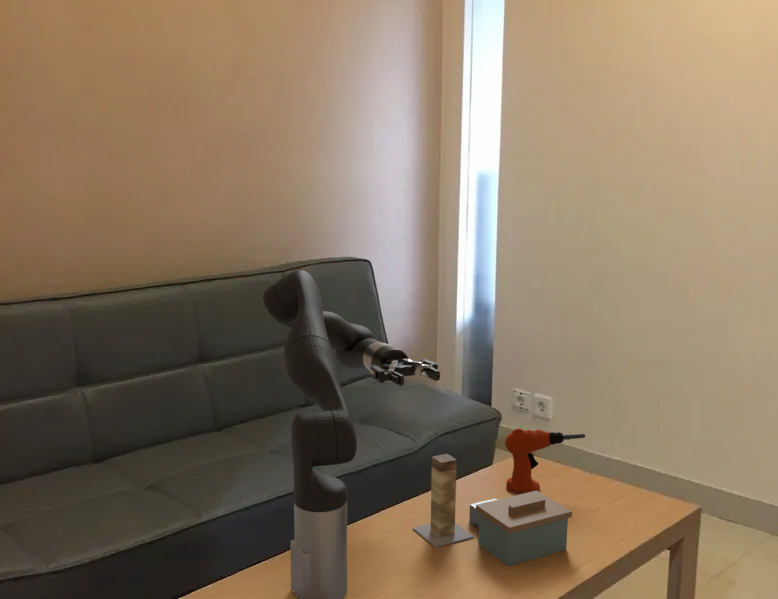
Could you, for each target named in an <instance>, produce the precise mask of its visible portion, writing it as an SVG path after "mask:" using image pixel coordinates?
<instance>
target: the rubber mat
mask: <svg viewBox="0 0 778 599" xmlns="http://www.w3.org/2000/svg"><path fill="white" fill-rule="evenodd" d="M413 529H414V530H413ZM412 530H413V531H415V533H417V534H418V535H419V534H420V535H419V536H420V537H422V538H423V539H424V540H425V541H426V542H428V543H429V544H430V543H431V544H432V545H431V544H430V545H431V546H433V547H434V548H435V549H436V547H437V548H441V547H444V546H447V545H452V544H456V543H459V541H460V542H463V540H464V541H467V540H471V539H474V536H473V534H471V533H470V532H468V531H467V530H465V529H464V528H463V527H462V526H460V525H458V523H456V522H455V534H453V535H448V536H444V537H440V538H439V537H438V536H437V535H436V534H434V533H433V532H432V531H431V522H430V523H426V524H423V525H419V526H414V527H412ZM455 542H456V543H455ZM451 543H452V544H451ZM443 545H444V546H443ZM440 546H441V547H440Z"/></svg>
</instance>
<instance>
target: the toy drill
mask: <svg viewBox="0 0 778 599" xmlns="http://www.w3.org/2000/svg"><path fill="white" fill-rule="evenodd" d="M585 437H586V435H585V433H578V434H563V433H562V432H553V431H552V432H550V431H545V430H541V429H536V430H531V429H527V430H526V429H525V430H524V429H522V428H515V429H513V430H512V432H510V433H509V434H507V435H506V436H505V439H504V445H505V448H506V449H507V451H509V453H510V454H512V459H513V469H512V473H511V477H509V478H507V481H506V490H508V491H509V492H512V493H521V494H524V493H528V492H533V491H538V492H540V489H541V484H540V483H539V482H538V481H536V480H534V479H532V470H533V469H535V468H536V467H537V466H538V465H539V462H538V461H537V460H536V459H535V455H534V454H533V453H534V452H537V451H538V450H539V451H540V450H543V449H545V448H548V447H551V446H553V445H557V444H562V443H563V442H564V441H565V440H572V439H573V440H575V439H585Z"/></svg>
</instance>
